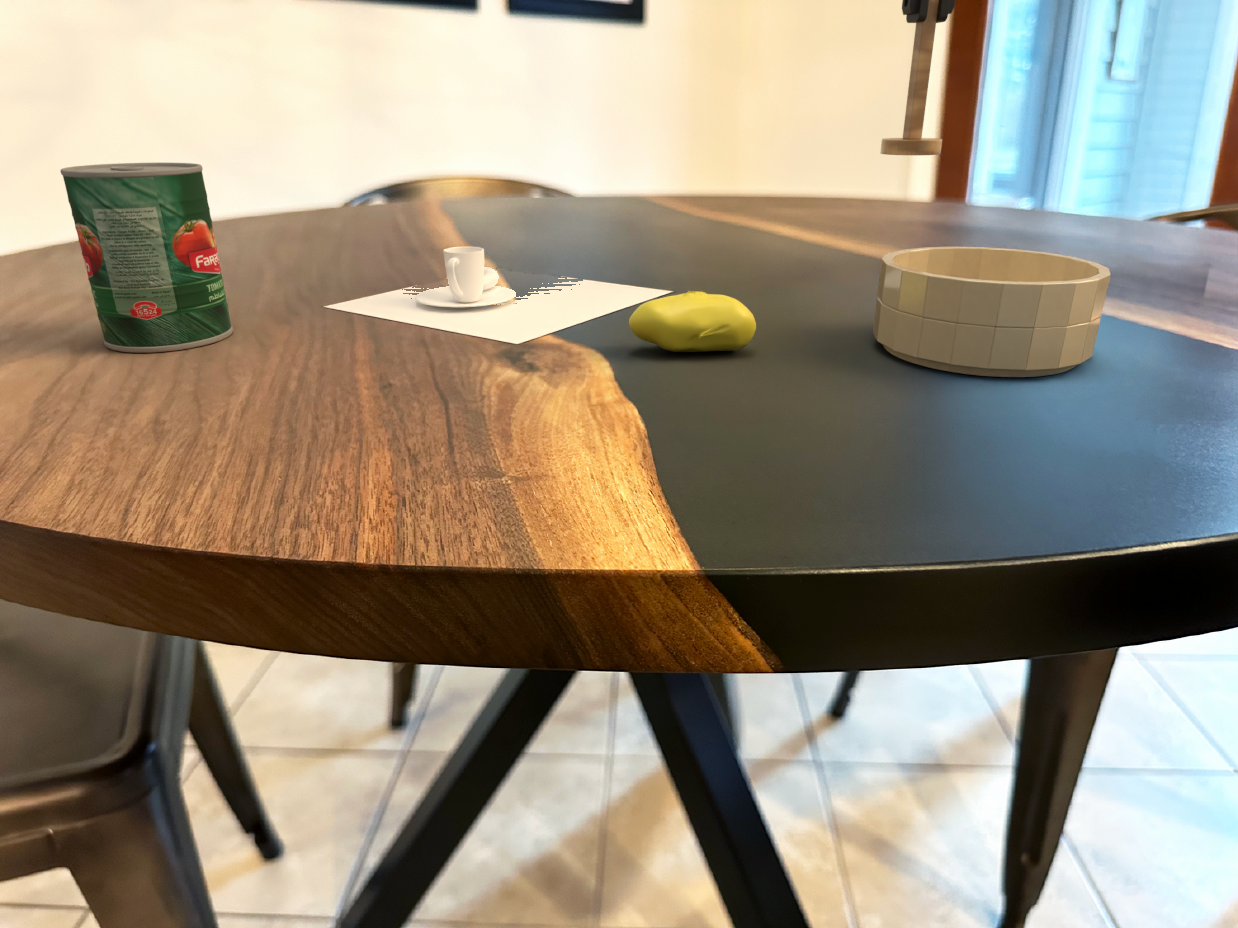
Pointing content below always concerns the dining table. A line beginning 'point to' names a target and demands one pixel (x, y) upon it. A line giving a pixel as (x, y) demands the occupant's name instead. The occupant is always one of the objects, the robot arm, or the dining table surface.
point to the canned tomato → (149, 254)
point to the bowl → (989, 309)
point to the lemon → (694, 322)
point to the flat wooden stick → (917, 94)
